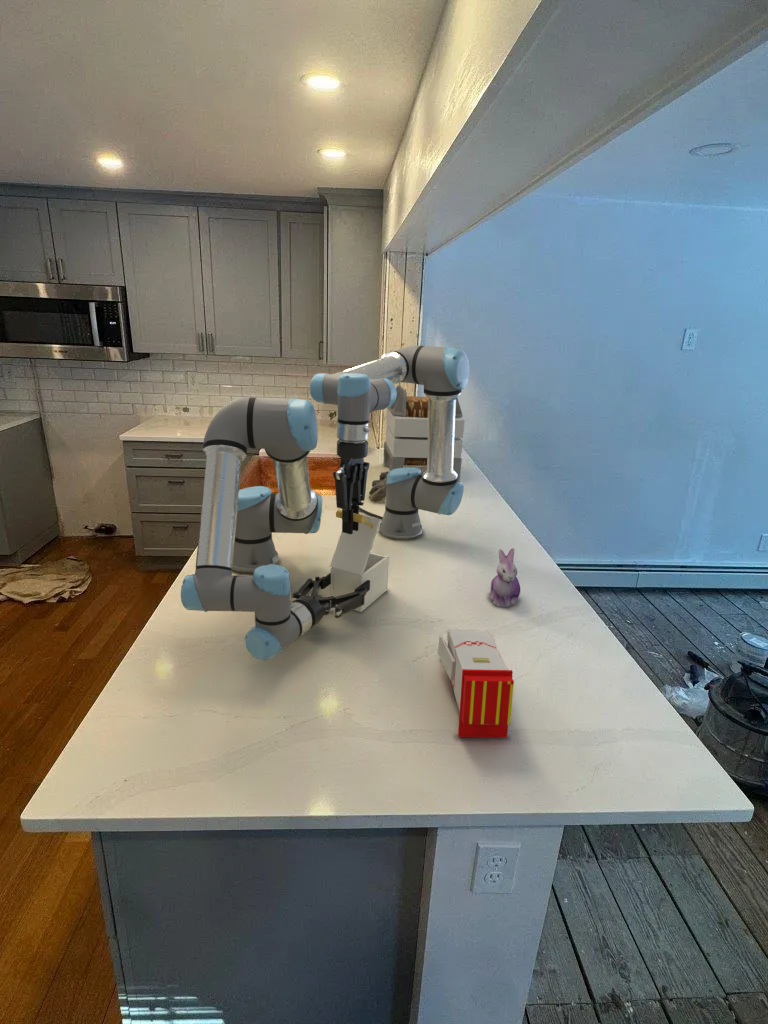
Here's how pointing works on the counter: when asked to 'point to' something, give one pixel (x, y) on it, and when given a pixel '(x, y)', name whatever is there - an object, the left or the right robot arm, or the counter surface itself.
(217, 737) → the counter surface
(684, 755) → the counter surface
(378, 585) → the chest
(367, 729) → the counter surface
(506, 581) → the figurine
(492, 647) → the toy
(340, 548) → the lid
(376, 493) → the fossil
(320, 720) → the counter surface
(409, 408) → the white wooden crate
